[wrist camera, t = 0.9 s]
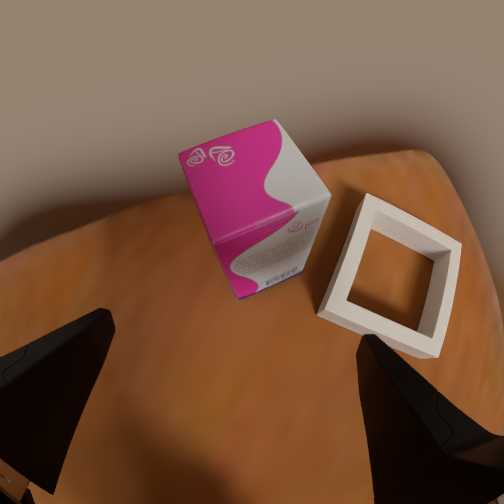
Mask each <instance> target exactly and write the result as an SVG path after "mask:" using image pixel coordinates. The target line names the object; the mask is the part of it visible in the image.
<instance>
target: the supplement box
mask: <svg viewBox="0 0 504 504" xmlns="http://www.w3.org/2000/svg"><path fill="white" fill-rule="evenodd" d="M178 156H179V160H180V163H181V166H182V168H183V171H184V174H185V176H186V179H187V182H188V185H189V188H190V190H191V193H192V195H193V198H194V201H195V203H196V206H197V209H198V211H199V214H200V217H201V219H202V222H203V224H204V227H205V229H206V232H207V234H208V237H209V239H210V242H211V244H212V246H213V248H214V250H215V253H216V255H217V257H218V259H219V261H220V263H221V265H222V268H223V270H224V272H225V274H226V276H227V278H228V280H229V282H230V284H231V286H232V288H233V291H234V293H235V295H236V297H237V298H238V299H243V298H246V297H248V296H251V295H253V294H255V293H258V292H260V291H262V290H265V289H267V288H269V287H271V286H274V285H276V284H278V283H280V282H282V281H284V280H287V279H289V278H291V277H293V276H295V275H297V274H299V273H301V272H302V270H303V268H304V265H305V263H306V260H307V258H308V255H309V253H310V250H311V248H312V245H313V242H314V240H315V237H316V235H317V232H318V230H319V227H320V225H321V222H322V219H323V217H324V214H325V212H326V209H327V206H328V203H329V201H330V198H331V193H330V192H329V190H328V189H327V188H326V186H325V185H324V183H323V182H322V181H321V179H320V178H319V177H318V175H317V174H316V172H315V171H314V170H313V168H312V167H311V165H310V164H309V163H308V162H307V160H306V159H305V157H304V156H303V155H302V153H301V152H300V151H299V149H298V148H297V146H296V145H295V144H294V142H293V141H292V139H291V138H290V137H289V136H288V134H287V133H286V131H285V130H284V129H283V128H282V126H281V125H280V124H279V123H278V121H277V120H276V119H274V120H271V121H268V122H264V123H261V124H258V125H254V126H252V127H248V128H245V129H242V130H239V131H237V132H234V133H231V134H228V135H225V136H222V137H220V138H217V139H214V140H211V141H209V142H206V143H204V144H201V145H198V146H196V147H193V148H191V149H188V150H186V151H183V152H181V153H179V154H178Z"/></svg>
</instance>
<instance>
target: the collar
mask: <svg viewBox="0 0 504 504" xmlns="http://www.w3.org/2000/svg"><path fill="white" fill-rule="evenodd" d="M370 229H372V230H375V231H377V232H379V233H381V234H383V235H385V236H387V237H389V238H391V239H393V240H395V241H397V242H399V243H401V244H403V245H405V246H407V247H409V248H411V249H413V250H414V251H416V252H418V253H420V254H422V255H424V256H426V257H428V258H429V259H431V260H433V261H434V265H433V270H432V275H431V279H430V284H429V288H428V293H427V297H426V301H425V305H424V309H423V312H422V316H421V320H420V323H419V326H418V330H417V332H416V331H414V330H411V329H409V328H407V327H405V326H402V325H400V324H398V323H396V322H393V321H391V320H389V319H387V318H384V317H382V316H380V315H378V314H375V313H373V312H371V311H369V310H366V309H364V308H362V307H360V306H357V305H355V304H353V303H351V302H348V301H346V299H347V297H348V294H349V291H350V289H351V286H352V283H353V281H354V278H355V275H356V272H357V269H358V266H359V263H360V260H361V257H362V254H363V251H364V248H365V245H366V242H367V239H368V236H369V232H370ZM461 246H462V244H461V243H459V242H457V241H456V240H454V239H453V238H451V237H449V236H447V235H446V234H444V233H442V232H441V231H439V230H437V229H435V228H434V227H432V226H430V225H428V224H427V223H425V222H423V221H421V220H419V219H417V218H416V217H414V216H412V215H410V214H408V213H406V212H404V211H402V210H400V209H398V208H396V207H395V206H393V205H391V204H389V203H387V202H385V201H382V200H380V199H378V198H376V197H374V196H372V195H370V194H368V193H366V194H365V196H364V198H363V200H362V201H361V203H360V205H359V206H358V208H357V209H356V212H355V215H354V218H353V221H352V224H351V227H350V230H349V233H348V235H347V238H346V241H345V244H344V246H343V249H342V252H341V255H340V257H339V260H338V262H337V265H336V268H335V270H334V273H333V275H332V278H331V280H330V283H329V285H328V288H327V290H326V293H325V295H324V298H323V300H322V302H321V305H320V307H319V309H318V312H317V314H316V315H317V316H319V317H322V318H324V319H326V320H328V321H331V322H333V323H335V324H338V325H340V326H342V327H344V328H347V329H349V330H351V331H354V332H356V333H358V334H361V335H364V334H375V335H377V336H378V337H379V338H380V339H381V340H382V341H384V342H385V343H386V344H387V345H388V346H390V347H392V348H394V349H397V350H399V351H402V352H404V353H407V354H409V355H412V356H414V357H417V358H419V359H422V358H438V357H439V354H440V351H441V348H442V344H443V341H444V337H445V333H446V330H447V326H448V322H449V317H450V313H451V309H452V304H453V299H454V294H455V289H456V283H457V277H458V270H459V263H460V255H461Z"/></svg>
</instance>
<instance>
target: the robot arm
mask: <svg viewBox="0 0 504 504" xmlns="http://www.w3.org/2000/svg"><path fill="white" fill-rule="evenodd" d="M114 334H115V325H114V321H113V318H112V314H111V312H110V310H108V309H104V308H99V309H97V310H94V311H92V312H90V313H88V314H86V315H84V316H82V317H80V318H78V319H76V320H74V321H72V322H70V323H68V324H66V325H64V326H62V327H60V328H58V329H56V330H54V331H52V332H50V333H48V334H46V335H44V336H43V337H41V338H39V339H37V340H35V341H33V342H31V343H29V345H28V344H27V345H25V346H23V347H21V348H19V349H17V350H15V351H13V352H11V353H8V354H6V355H4V356H2V357H0V504H35V503H34V500H33V497H32V494H31V491H30V489H28V488H27V487H28V485H29V483H30V481H31V482H33V483H34V484H36V485H37V486H39V487H40V488H42V489H43V490H45V491H47V492H48V493H50V494H51V495H53V494H54V492H55V488H56V485H57V482H58V479H59V475H60V472H61V469H62V466H63V463H64V460H65V457H66V455H67V451H68V449H69V446H70V443H71V440H72V438H73V435H74V432H75V430H76V427H77V425H78V422H79V420H80V417H81V415H82V412H83V410H84V407H85V405H86V403H87V400H88V398H89V396H90V393H91V391H92V389H93V387H94V384H95V382H96V380H97V378H98V375H99V373H100V371H101V369H102V367H103V364H104V361H105V359H106V356H107V353H108V350H109V347H110V345H111V342H112V339H113V336H114ZM356 361H357V372H358V385H359V395H360V401H361V407H362V412H363V418H364V424H365V430H366V437H367V443H368V450H369V457H370V465H371V473H372V482H373V492H374V496H375V497H374V504H504V436H499V435H495V434H492V433H490V432H489V431H487V430H486V429H484V428H483V427H482V426H480V425H479V424H478V423H476V422H475V421H474V420H472V419H471V418H470V417H468V416H467V415H466V414H465V413H463V412H462V411H461V410H460V409H458V408H457V407H456V406H455V405H453V404H452V403H451V402H450V401H449V400H448V399H447V398H445V397H444V396H443V395H442V394H441V393H440V392H438V390H437V389H436V388H435V387H433V386H432V385H431V384H430V383H429V382H428V381H427V380H426V379H425V378H424V377H423V376H421V375H420V374H419V373H418V372H417V371H416V370H415V369H414V368H413V367H411V366H410V365H409V364H408V363H407V362H406V361H405V360H404V359H403V358H401V357H400V356H399V355H398V354H397V353H396V352H395V351H394V350H393V349H391V348H390V347H389V346H388V345H387V344H386V343H385V342H384V341H382V340H381V339H380V338H379V337H378V336H377V335H375V334H364V335H363V336H362V338H361V341H360V344H359V347H358V349H357V353H356Z"/></svg>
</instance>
